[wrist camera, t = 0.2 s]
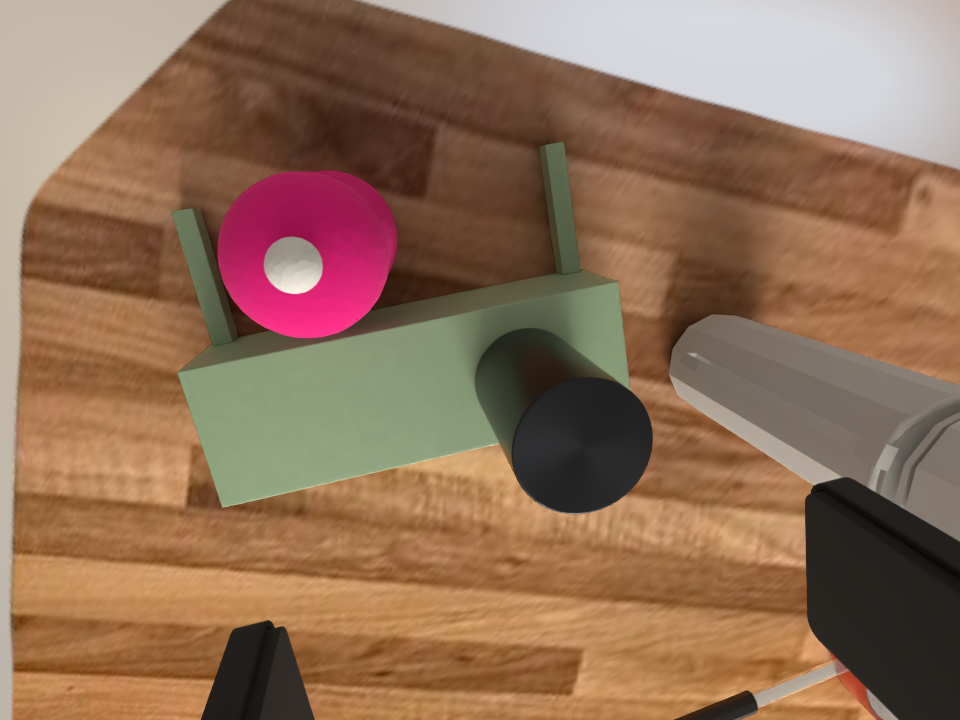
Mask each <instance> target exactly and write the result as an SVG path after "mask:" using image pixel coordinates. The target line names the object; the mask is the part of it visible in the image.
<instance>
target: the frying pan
mask: <svg viewBox="0 0 960 720" xmlns="http://www.w3.org/2000/svg"><path fill="white" fill-rule="evenodd" d="M831 659H832V660H831V661H828V662H826V663H823V664H821V665H819V666H816V667H814V668H811V669H809V670H806V671H804V672H801V673H799V674H796V675H794V676H791V677H789V678H786V679H784V680H781V681H779V682H776V683H774V684H771V685H769V686H767V687H764V688H762V689H759V690H757V691H754V692H752V693H751V692H749V691H744V692H742V693H739V694H737V695H734V696H732V697H729V698H727V699H724V700H722V701H719V702H717V703H714V704H712V705H709V706H707V707H704V708H702V709H700V710H697V711H695V712H692V713H690V714H687V715H685V716H682V717H680V718H677V719H675V720H741V719H744V718H746V717H748V716H751V715H753V714H755V713H756V712H757V711H758V708H760V707H763V706H765V705H767V704H770V703H772V702H775V701H777V700H779V699H782V698H784V697H787V696H789V695H792V694H794V693H796V692H799V691H801V690H804V689H806V688H808V687H811V686H813V685H816V684H818V683H820V682H823V681H825V680H828V679H830V678H832V677H835V676H837V677H838V678H839V680H840V681H841V682H842V684H843V685H844V686H845V687H846V689H847V690H848V691H849V692H850V693H851V694H852V695H853V696H854V697H855V698H856V699H857V700H858V701H859V702H860V703H861V704H862V705H863V706H864V707H865V708H866V709H867V710H868V712H869V713H870V714H871V715H872V716H873V717H874V718H875V719H876V720H898V719H897V718H896V717H895V716H894V715H893V714H892V713H891V712H890V711H889V710H888V709H887V708H886V707H885V706H884V705H883V704H882V703H881V702H880V701H879V700H878V699H877V698H876V697H875V696H874V695H873V694H872V693H871V692H870V691H869V690H868V689H867V688H866V687H865V686H864V685H863V684H862V683H861V682H860V681H859V680H858V679H857V678H856V677H855V676H854V675H853V674H852V673H851V672H850V671H849V670H848V669H847V668H846V667H845V666H844V665H843V664H842V663H841V662H840V661H839V660H838V659H837V658H836V657H835V656H834V655H833V654H832V653H831Z"/></svg>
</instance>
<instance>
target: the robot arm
mask: <svg viewBox="0 0 960 720" xmlns="http://www.w3.org/2000/svg"><path fill="white" fill-rule="evenodd" d="M805 526H806V575H807V617H808V622H809V625H810V628H811V630H812V632H813V633H814V635H815V636H816V637H817V639H818V640H819V641H820V642H821V643H822V644H823V645H824V646H825V647H826V648H827V649H828V650H829V651H830V652H831V653H832V654H833V655H834V656H835V657H836V658H837V659H838V660H839V661H840V662H841V663H842V664H843V665H844V666H845V667H846V668H847V669H848V670H849V671H850V672H851V673H852V674H853V675H854V676H855V677H856V678H857V679H858V680H859V681H860V682H861V683H862V684H863V685H864V686H865V687H866V688H867V689H868V690H869V691H870V692H871V693H872V694H873V695H874V696H875V697H876V698H877V699H878V700H879V701H880V702H881V703H882V704H883V705H884V706H885V707H886V708H887V709H888V710H889V711H890V712H891V713H892V714H893V715H894V716H895V717H896V718H897V719H898V720H960V541H958V540H957V539H955V538H953V537H951V536H950V535H948V534H946V533H945V532H943V531H941V530H939V529H938V528H936V527H934V526H933V525H931V524H929V523H927V522H926V521H924V520H922V519H921V518H919V517H917V516H916V515H914V514H912V513H910V512H909V511H907V510H905V509H904V508H902V507H900V506H898V505H897V504H895V503H893V502H892V501H890V500H888V499H886V498H885V497H883V496H881V495H880V494H878V493H876V492H875V491H873V490H871V489H869V488H868V487H866V486H864V485H863V484H861V483H859V482H857V481H856V480H854V479H852V478H849V477H842V478H838V479H834V480H830V481H826V482H822V483H818V484H816V485H814V486H813V488H812V490H811V494H809V495H808V496H807V497H806V499H805ZM201 720H315V719H314V716H313V713H312V710H311V707H310V703H309V700H308V697H307V694H306V691H305V687H304V684H303V681H302V678H301V675H300V672H299V668H298V665H297V662H296V659H295V656H294V652H293V649H292V646H291V643H290V640H289V637H288V633H287V631H286V629H285V627H283V626H282V627H278V628H275V627H274V625H273V623H272V622H271V621H269V620H268V621H264V622H260V623H255V624H251V625H247V626H243V627H239V628H235V629H234V630H233V631H232V633H231V635H230V638H229V640H228V643H227V646H226V649H225V652H224V655H223V658H222V661H221V663H220V666H219V669H218V672H217V675H216V678H215V681H214V683H213V686H212V689H211V692H210V695H209V698H208V701H207V704H206V706H205V709H204V712H203V715H202V718H201Z"/></svg>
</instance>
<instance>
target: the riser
mask: <svg viewBox="0 0 960 720" xmlns="http://www.w3.org/2000/svg"><path fill="white" fill-rule="evenodd" d="M539 154H540V161H541V168H542V175H543V182H544V190H545V197H546V204H547V211H548V218H549V225H550V232H551V239H552V246H553V254H554V261H555V268H556V273H553V274H548V275H543V276H538V277H533V278H528V279H523V280H518V281H513V282H509V283H504V284H499V285H494V286H489V287H484V288H479V289H474V290H469V291H464V292H459V293H454V294H449V295H444V296H439V297H434V298H429V299H425V300H420V301H415V302H410V303H405V304H400V305H395V306H390V307H385V308H380V309H375V310H370V311H369V312H368V313H367V314H366V315H365V316H363V317H362V318H361V319H360V320H359V321H357V322H356V323H355V324H353V325H352V326H350V327H349V328H347V329H345V330H343V331H341V332H338V333H336V334H332V335H329V336H325V337H318V338H294V337H290V336H286V335H282V334H279V333H277V332H274V331H272V330H271V331H266V332H261V333H256V334H251V335H247V336H242V337H238V333H237V329H236V326H235V323H234V319H233V316H232V312H231V309H230V306H229V302H228V299H227V296H226V292H225V289H224V286H223V282H222V279H221V275H220V272H219V269H218V265H217V262H216V259H215V255H214V252H213V249H212V245H211V242H210V239H209V235H208V232H207V228H206V225H205V222H204V218H203V215H202V212H201V209H200V208H189V209H183V210H178V211H172V212H171V213H172V216H173V220H174V223H175V226H176V229H177V232H178V236H179V239H180V242H181V245H182V248H183V252H184V255H185V258H186V261H187V265H188V268H189V271H190V274H191V277H192V281H193V284H194V287H195V290H196V293H197V297H198V300H199V303H200V306H201V309H202V313H203V316H204V319H205V322H206V325H207V329H208V332H209V335H210V338H211V342H212V344H211V345H210V346H209V347H207V348H206V349H205V350H204V351H203V352H201V353H200V354H199V355H198V356H196V357H195V358H194V359H193V360H192V361H190V362H189V363H188V364H187V365H186V366H184V367H183V368H182V369H181V370H179V371H178V376H179V379H180V382H181V385H182V388H183V391H184V394H185V397H186V400H187V403H188V406H189V409H190V412H191V415H192V418H193V421H194V424H195V427H196V430H197V433H198V436H199V439H200V442H201V445H202V448H203V451H204V454H205V457H206V460H207V463H208V466H209V469H210V472H211V475H212V478H213V481H214V484H215V487H216V490H217V493H218V496H219V499H220V502H221V505H222V507H228V506H232V505H236V504H241V503H245V502H249V501H254V500H258V499H262V498H267V497H271V496H275V495H279V494H284V493H288V492H292V491H297V490H301V489H305V488H310V487H314V486H318V485H323V484H327V483H331V482H336V481H340V480H344V479H349V478H353V477H357V476H362V475H366V474H370V473H375V472H379V471H383V470H388V469H392V468H396V467H401V466H405V465H409V464H414V463H418V462H422V461H427V460H431V459H435V458H439V457H444V456H448V455H452V454H457V453H461V452H465V451H470V450H474V449H478V448H483V447H487V446H491V445H496V444H499V442H498V440H497V438H496V435H495V433H494V431H493V429H492V427H491V425H490V423H489V421H488V419H487V417H486V415H485V413H484V411H483V409H482V407H481V405H480V403H479V400H478V398H477V394H476V389H475V375H476V370H477V366H478V364H479V361H480V359H481V357H482V355H483V354H484V352H485V351H486V350H487V348H488V347H489V346H490V345H491V344H492V343H493V342H494V341H495V340H497V339H498V338H499V337H501V336H503V335H504V334H506V333H509V332H511V331H514V330H518V329H523V328H537V329H542V330H546V331H549V332H551V333H553V334H555V335H557V336H558V337H560V338H561V339H562V340H564V341H565V342H566V343H568V344H569V345H570V346H572V347H573V348H574V349H576V350H577V351H578V352H580V353H581V354H582V355H584V356H585V357H586V358H588V359H589V360H590V361H592V362H593V363H594V364H596V365H597V366H598V367H600V368H601V369H602V370H604V371H605V372H606V373H608V374H609V375H610V376H612V377H613V378H614V379H616V380H617V381H618V382H620V383H621V384H622V385H624V386H625V387H626V388H627V389H629V390H630V384H629V375H628V366H627V357H626V348H625V339H624V330H623V321H622V312H621V303H620V295H619V286H618V281H615V280H612V279H609V278H606V277H603V276H600V275H597V274H594V273H591V272H588V271H585V270H582V269H580V264H579V256H578V248H577V241H576V233H575V225H574V217H573V210H572V202H571V194H570V187H569V179H568V171H567V163H566V156H565V148H564V142H559V143H553V144H548V145H544V146H541V147H539Z"/></svg>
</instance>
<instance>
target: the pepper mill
mask: <svg viewBox="0 0 960 720" xmlns="http://www.w3.org/2000/svg"><path fill="white" fill-rule="evenodd" d="M397 248H398V234H397V228H396V223H395V220H394V217H393V214H392V212H391V210H390V208H389V206H388V205H387V203H386V202H385V200H384V199H383V197H382V196H381V195H380V194H379V193H378V192H377V191H376V190H375V189H374V188H373V187H372V186H370V185H369V184H368V183H366V182H365V181H363V180H361V179H359V178H358V177H356V176H353V175H350V174H348V173H344V172H339V171H329V170H323V171H316V172H307V171H292V172H283V173H279V174H275V175H271V176H269V177H267V178H265V179H263V180H260V181H259V182H257V183H255V184H254V185H252V186H251V187H250V188H248V189H247V190H245V191H244V192H243V193H242V194H241V195H240V196H239V197H238V198H237V199H236V200H235V201H234V203H233V204H232V206H231V207H230V209H229V211H228V212H227V214H226V216H225V218H224V220H223V223H222V226H221V228H220V232H219V239H218V264H219V270H220V273H221V276H222V279H223V283H224V285H225V286H226V288H227V290H228V292H229V294H230V296H231V298H232V299H233V300H234V302H235V303H236V304H237V305H238V307H239V308H240V309H241V310H242V311H243V312H244V313H245V314H246V315H247V316H249V317H250V318H251V319H252V320H253V321H255V322H256V323H258V324H260V325H262V326H263V327H265V328H267V329H269V330H272V331H274V332H277V333H279V334H282V335H286V336H290V337H294V338H318V337H325V336H329V335H332V334H336V333H338V332H341V331H343V330H345V329H347V328H349V327H350V326H352V325H353V324H355V323H356V322H357V321H359V320H360V319H361V318H362V317H363V316H365V315H366V314H367V313H368V312H369V311H370V309H371V308H372V307H373V305H374V304H375V303H376V301H377V300H378V299H379V297H380V295H381V292H382V290H383V288H384V285H385V282H386V280H387V275H388V274H389V272H390V271H391V268H392V266H393V264H394V261H395V257H396V253H397Z"/></svg>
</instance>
